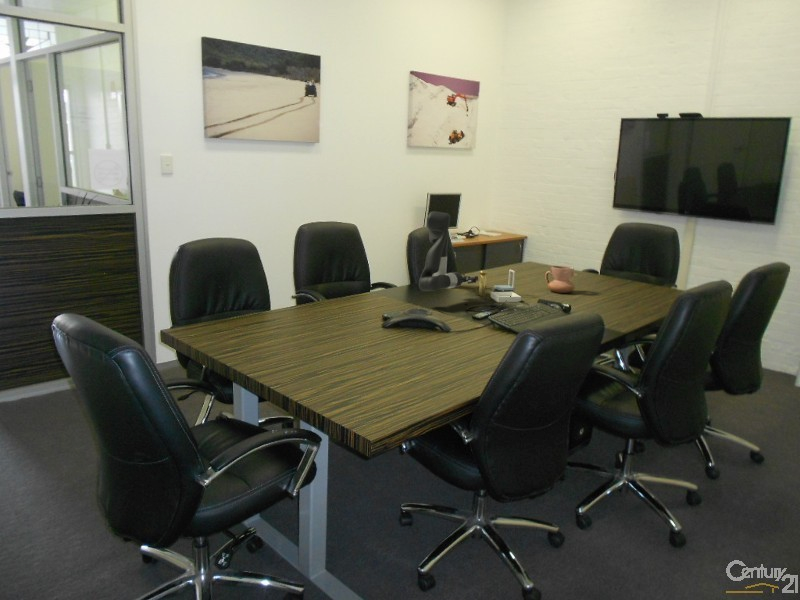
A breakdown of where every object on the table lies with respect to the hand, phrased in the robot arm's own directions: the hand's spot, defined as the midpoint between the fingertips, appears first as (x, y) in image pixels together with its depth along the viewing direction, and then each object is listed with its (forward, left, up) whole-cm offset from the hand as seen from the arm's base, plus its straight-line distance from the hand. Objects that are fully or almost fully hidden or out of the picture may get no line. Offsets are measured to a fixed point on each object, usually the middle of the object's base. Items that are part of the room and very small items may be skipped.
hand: (470, 277), depth 305 cm
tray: (+18, -4, -11) cm, 22 cm away
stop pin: (+9, +7, -11) cm, 16 cm away
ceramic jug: (+57, +14, -11) cm, 60 cm away
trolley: (+21, +6, -11) cm, 25 cm away
